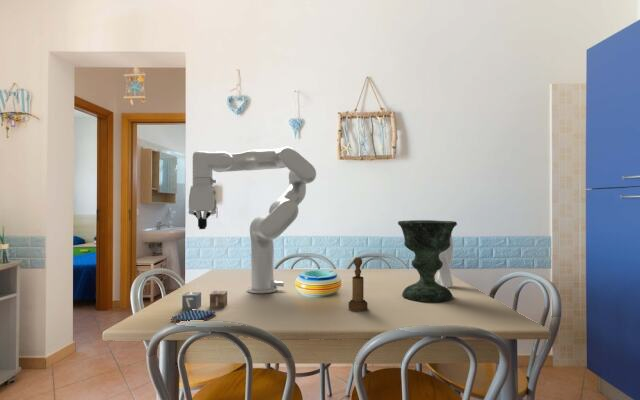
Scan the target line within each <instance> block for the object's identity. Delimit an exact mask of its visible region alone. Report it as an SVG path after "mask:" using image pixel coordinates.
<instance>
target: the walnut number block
mask: <svg viewBox="0 0 640 400" xmlns="http://www.w3.org/2000/svg"><path fill="white" fill-rule="evenodd" d="M227 305H228V291H227V290H213V291H212V292H210V294H209V309H224V308H225V307H227Z"/></svg>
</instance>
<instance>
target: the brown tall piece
mask: <svg viewBox="0 0 640 400" xmlns="http://www.w3.org/2000/svg"><path fill="white" fill-rule="evenodd" d="M353 264H354V266H355V269H354V276H352V277H351V278H352V279H351V280H352V281H351V282H352V288H351V289H352V295H351V296H352V297H351V298H352V299H351V300H349V301H348V310H349V311H351V312H366V311H368V307H369V306H368V302H367V301H366V300H365V299H364V297H365V296H364V276H361V274H362V269H361V266H362V264H363V259H362V258H361V257H355V258H354V259H353Z"/></svg>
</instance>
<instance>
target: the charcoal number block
mask: <svg viewBox="0 0 640 400" xmlns="http://www.w3.org/2000/svg"><path fill="white" fill-rule="evenodd" d="M181 298H182V299H181V300H182V301H181V302H182V307H181V308H182V309H181V310H182V311H185V310H184V309H189V310H191V309H197V310H199V309H200V308H201V307H202V291H200V292H198V291H197V292H195V291H193V292H192V291H191V292H190V291H189V292H188V291H187V292H185V293H184V294H183V295H182V296H181Z"/></svg>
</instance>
